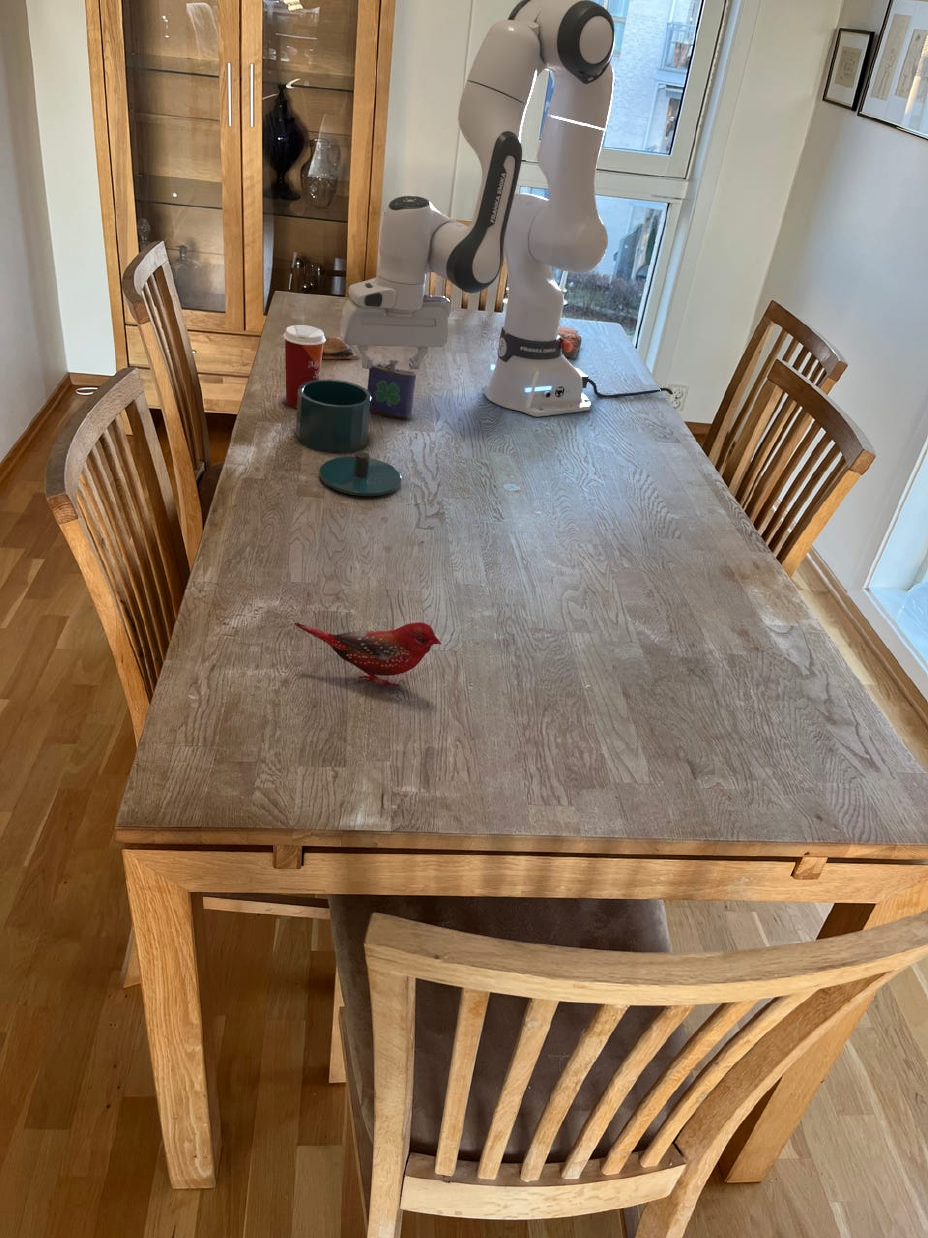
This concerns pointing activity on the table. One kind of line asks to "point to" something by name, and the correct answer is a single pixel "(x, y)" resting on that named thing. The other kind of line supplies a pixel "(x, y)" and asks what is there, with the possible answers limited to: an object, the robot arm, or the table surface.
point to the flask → (391, 390)
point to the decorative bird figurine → (381, 648)
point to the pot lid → (360, 475)
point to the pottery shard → (570, 340)
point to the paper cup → (301, 358)
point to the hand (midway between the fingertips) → (390, 367)
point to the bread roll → (337, 349)
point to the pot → (333, 415)
